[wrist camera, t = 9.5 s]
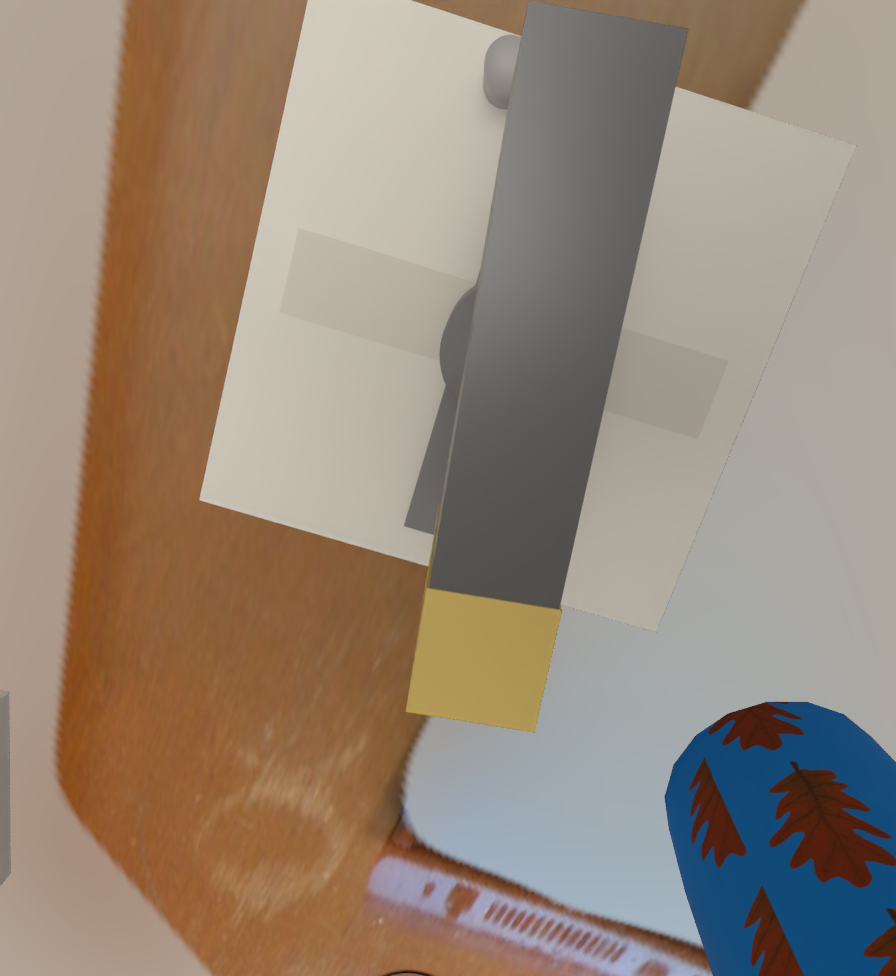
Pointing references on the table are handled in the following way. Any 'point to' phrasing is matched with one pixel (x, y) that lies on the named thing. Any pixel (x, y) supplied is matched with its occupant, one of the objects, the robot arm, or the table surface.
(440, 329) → the base plate
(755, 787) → the thermos
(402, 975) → the supplement bottle
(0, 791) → the robot arm
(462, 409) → the grey yellow rectangular block
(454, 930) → the table surface
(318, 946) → the table surface
